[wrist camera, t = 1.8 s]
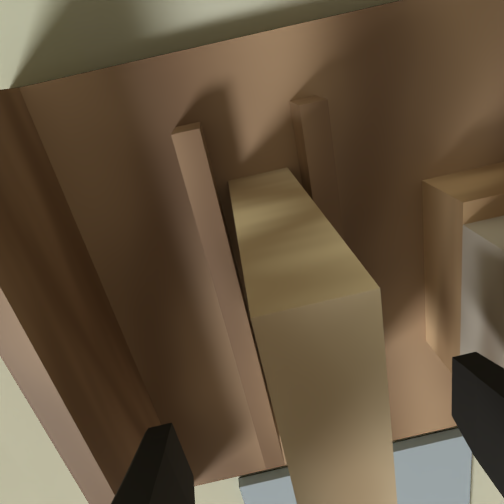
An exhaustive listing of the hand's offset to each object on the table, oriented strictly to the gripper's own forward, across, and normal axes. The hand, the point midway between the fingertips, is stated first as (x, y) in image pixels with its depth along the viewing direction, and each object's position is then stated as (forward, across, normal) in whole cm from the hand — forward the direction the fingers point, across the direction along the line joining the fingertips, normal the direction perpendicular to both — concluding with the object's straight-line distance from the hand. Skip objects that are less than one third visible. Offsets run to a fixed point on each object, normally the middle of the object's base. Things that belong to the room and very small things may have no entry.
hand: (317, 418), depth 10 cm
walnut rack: (+7, -3, 0) cm, 7 cm away
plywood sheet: (+6, 0, 0) cm, 6 cm away
